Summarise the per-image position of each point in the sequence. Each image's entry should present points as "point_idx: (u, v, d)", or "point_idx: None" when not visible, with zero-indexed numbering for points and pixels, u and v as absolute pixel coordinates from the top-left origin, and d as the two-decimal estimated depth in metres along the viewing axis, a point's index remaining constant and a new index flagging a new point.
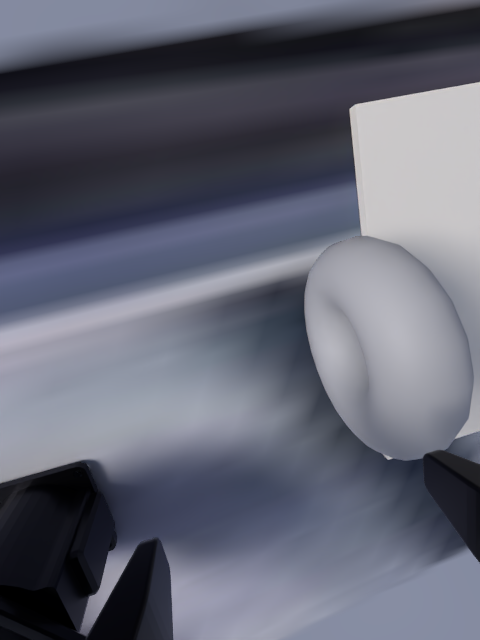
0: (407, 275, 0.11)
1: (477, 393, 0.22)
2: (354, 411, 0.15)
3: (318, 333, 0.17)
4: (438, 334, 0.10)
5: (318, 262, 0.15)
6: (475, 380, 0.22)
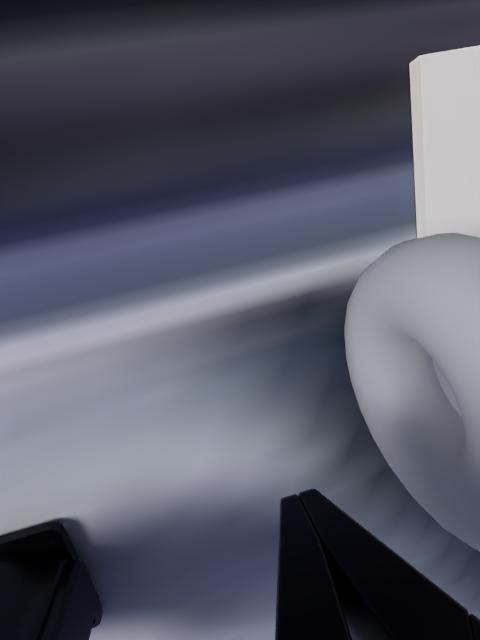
0: None
1: None
2: (426, 480, 0.10)
3: (365, 363, 0.13)
4: None
5: (376, 270, 0.10)
6: None
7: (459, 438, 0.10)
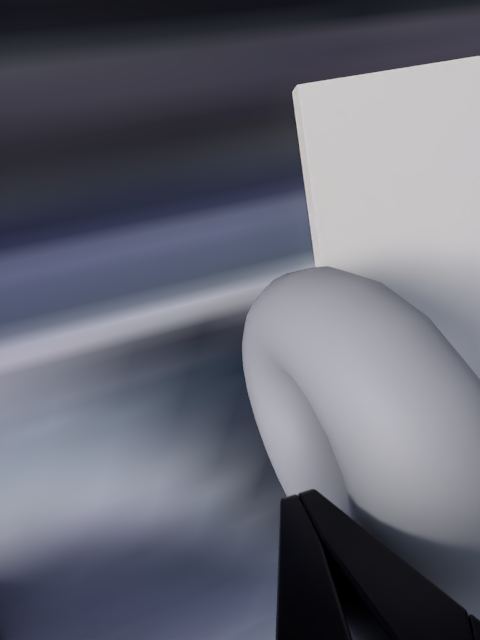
0: (411, 341, 0.06)
1: None
2: None
3: (264, 401, 0.12)
4: None
5: (258, 305, 0.10)
6: None
7: None
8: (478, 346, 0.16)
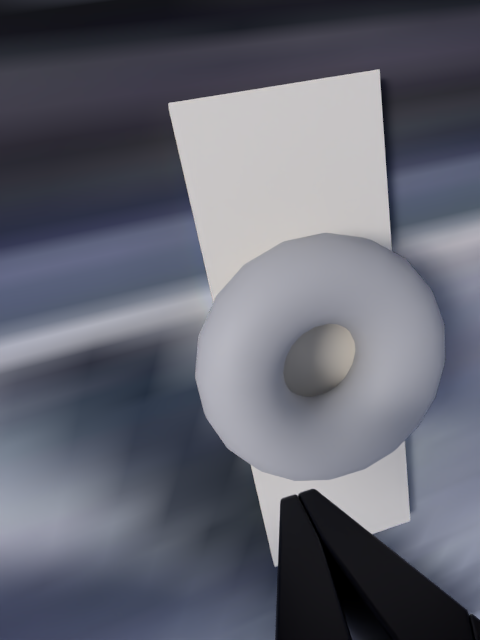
0: None
1: (390, 481, 0.17)
2: (378, 425, 0.12)
3: (273, 400, 0.11)
4: None
5: (274, 279, 0.10)
6: (387, 465, 0.17)
7: (347, 389, 0.13)
8: None
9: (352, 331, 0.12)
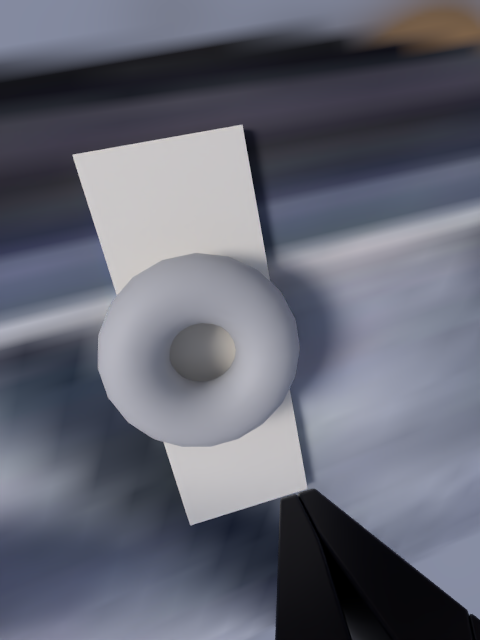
0: (237, 260, 0.15)
1: (286, 454, 0.21)
2: (242, 402, 0.16)
3: (153, 381, 0.15)
4: (273, 284, 0.16)
5: (145, 290, 0.14)
6: (281, 440, 0.20)
7: (226, 375, 0.17)
8: None
9: (224, 329, 0.16)
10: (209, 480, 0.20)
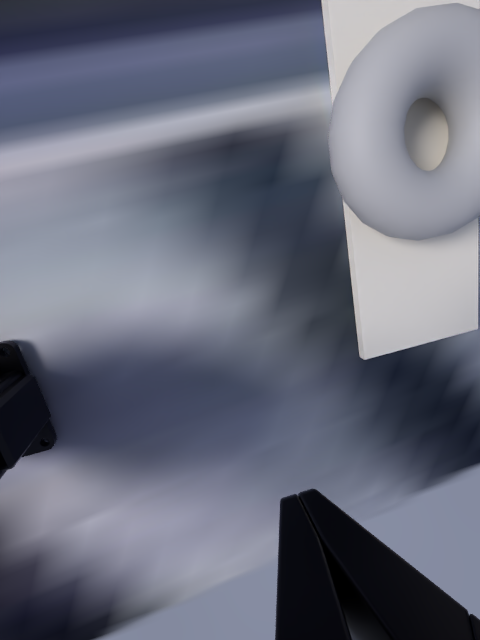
0: None
1: (464, 285, 0.20)
2: (478, 175, 0.15)
3: (401, 138, 0.14)
4: None
5: (411, 24, 0.13)
6: (462, 269, 0.20)
7: (447, 161, 0.16)
8: None
9: (455, 103, 0.15)
10: (389, 308, 0.19)
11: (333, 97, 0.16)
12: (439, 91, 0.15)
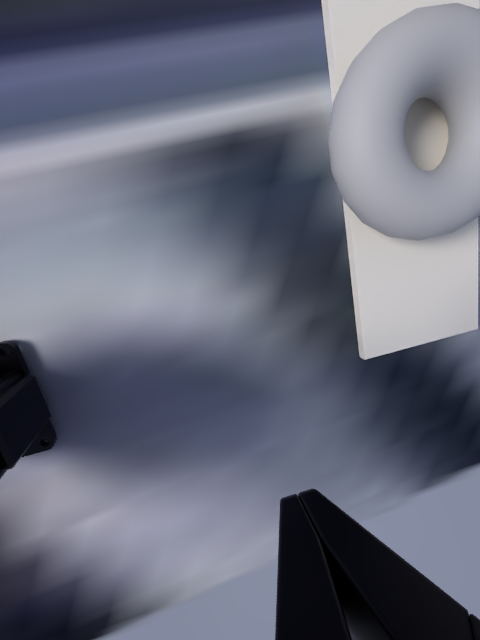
0: None
1: (464, 285, 0.20)
2: (478, 175, 0.15)
3: (400, 138, 0.14)
4: None
5: (411, 24, 0.13)
6: (462, 269, 0.20)
7: (447, 161, 0.16)
8: None
9: (455, 103, 0.15)
10: (389, 308, 0.19)
11: (333, 97, 0.16)
12: (439, 91, 0.15)
